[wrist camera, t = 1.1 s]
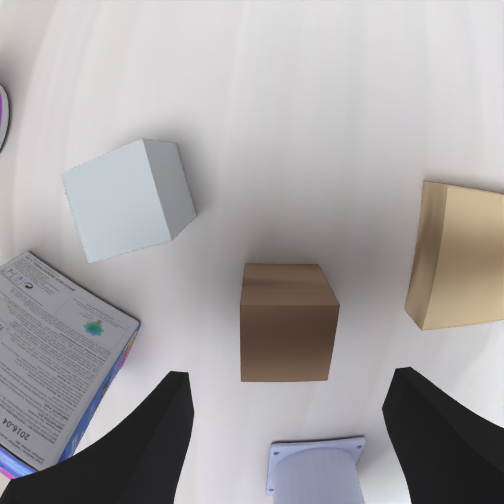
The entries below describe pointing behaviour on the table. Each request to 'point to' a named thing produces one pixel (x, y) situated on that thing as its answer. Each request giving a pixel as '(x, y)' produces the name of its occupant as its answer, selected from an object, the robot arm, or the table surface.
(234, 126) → the table surface
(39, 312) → the ink cartridge box
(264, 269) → the walnut block
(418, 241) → the oak slab
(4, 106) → the supplement bottle
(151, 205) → the grey block
